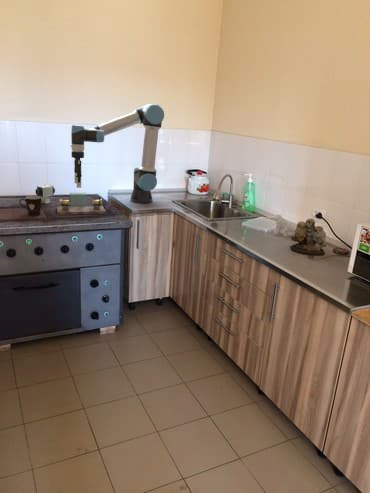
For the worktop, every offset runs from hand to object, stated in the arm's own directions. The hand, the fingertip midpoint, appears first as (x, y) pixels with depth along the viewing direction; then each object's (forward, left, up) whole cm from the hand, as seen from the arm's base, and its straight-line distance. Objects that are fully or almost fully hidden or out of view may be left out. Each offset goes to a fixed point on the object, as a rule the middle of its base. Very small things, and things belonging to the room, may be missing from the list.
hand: (77, 185), depth 266 cm
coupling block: (0, 0, -13) cm, 13 cm away
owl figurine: (-102, +102, -13) cm, 145 cm away
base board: (0, +15, -13) cm, 20 cm away
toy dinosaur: (-105, +76, -13) cm, 131 cm away
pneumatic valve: (+20, -8, -13) cm, 25 cm away
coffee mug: (+28, +19, -13) cm, 36 cm away
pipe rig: (0, +15, -11) cm, 19 cm away
